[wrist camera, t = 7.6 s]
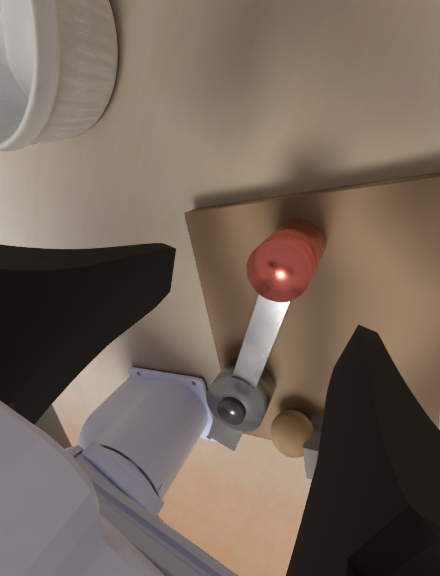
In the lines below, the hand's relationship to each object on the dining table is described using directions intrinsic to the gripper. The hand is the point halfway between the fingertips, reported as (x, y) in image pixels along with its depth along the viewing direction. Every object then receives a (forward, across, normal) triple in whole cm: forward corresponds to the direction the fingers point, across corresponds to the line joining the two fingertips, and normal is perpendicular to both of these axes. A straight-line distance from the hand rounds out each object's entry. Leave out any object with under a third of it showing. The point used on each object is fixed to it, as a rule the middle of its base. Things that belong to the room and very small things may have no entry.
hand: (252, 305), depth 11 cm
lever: (+8, 0, +8) cm, 11 cm away
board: (+10, -3, +7) cm, 12 cm away
